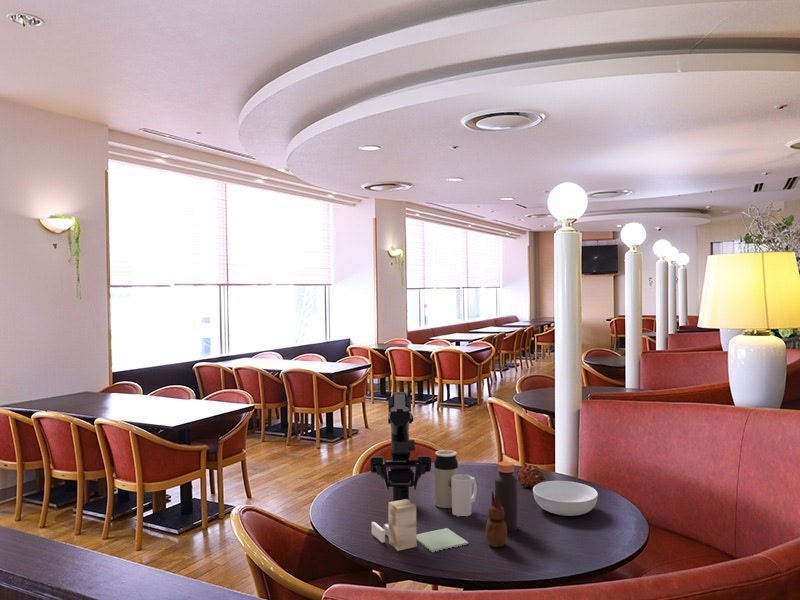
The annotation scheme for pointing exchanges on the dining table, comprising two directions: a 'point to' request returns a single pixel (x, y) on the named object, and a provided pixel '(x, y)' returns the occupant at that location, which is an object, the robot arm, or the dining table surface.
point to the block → (402, 524)
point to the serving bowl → (565, 497)
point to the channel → (378, 532)
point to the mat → (440, 539)
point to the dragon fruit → (530, 476)
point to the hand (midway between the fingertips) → (401, 489)
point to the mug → (462, 494)
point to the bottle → (507, 493)
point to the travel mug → (444, 477)
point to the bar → (386, 529)
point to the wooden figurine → (496, 524)
